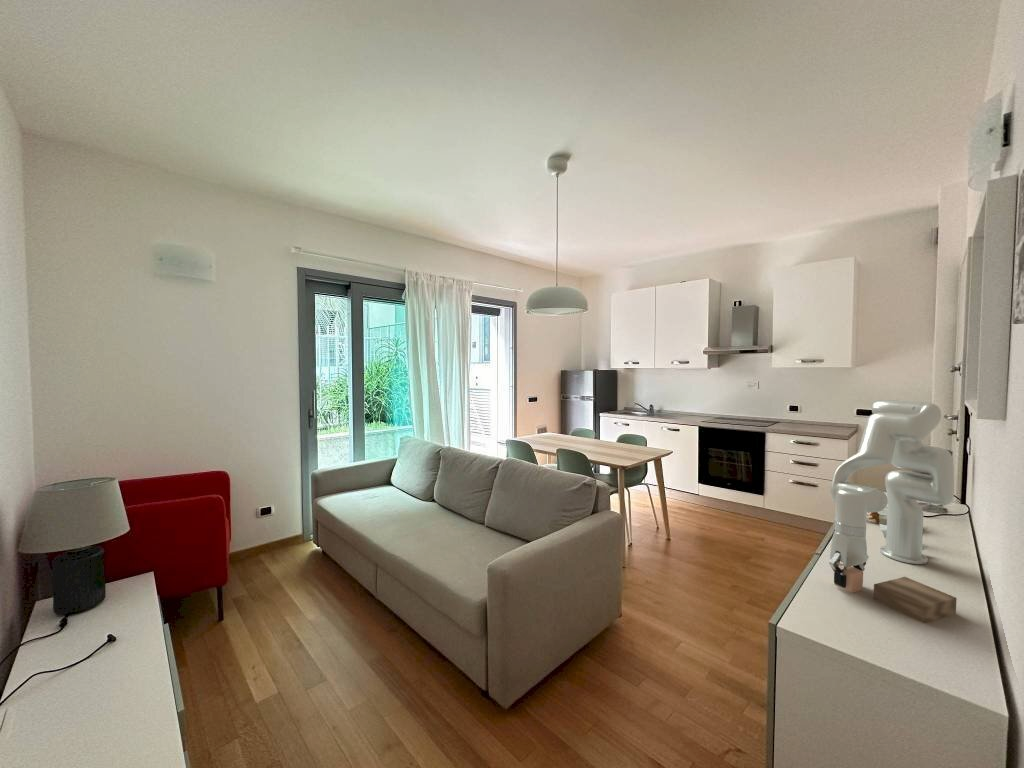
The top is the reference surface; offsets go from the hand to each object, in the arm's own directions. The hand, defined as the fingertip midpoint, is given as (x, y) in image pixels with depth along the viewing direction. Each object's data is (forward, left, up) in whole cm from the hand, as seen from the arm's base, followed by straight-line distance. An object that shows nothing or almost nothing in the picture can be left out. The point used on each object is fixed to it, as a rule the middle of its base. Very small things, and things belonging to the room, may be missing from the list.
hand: (848, 583), depth 129 cm
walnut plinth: (-7, +13, -2) cm, 15 cm away
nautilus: (-71, -31, -2) cm, 77 cm away
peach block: (0, 0, -1) cm, 1 cm away
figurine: (-56, -20, -1) cm, 59 cm away
